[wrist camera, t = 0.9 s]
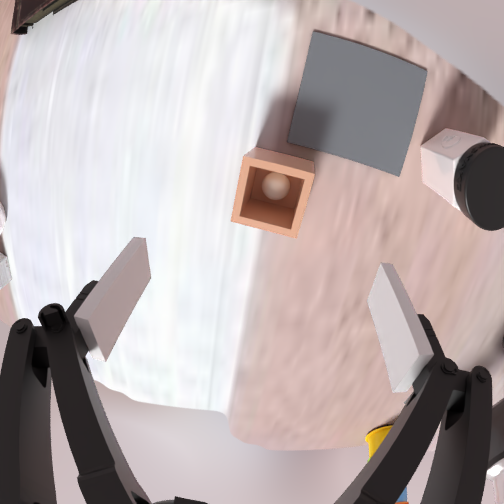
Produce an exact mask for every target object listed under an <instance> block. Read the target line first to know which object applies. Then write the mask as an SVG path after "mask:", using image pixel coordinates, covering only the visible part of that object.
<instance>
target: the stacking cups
mask: <svg viewBox="0 0 504 504" xmlns="http://www.w3.org/2000/svg"><path fill="white" fill-rule="evenodd" d="M392 426H393V425H391V426H385V427H381V428H378V429H376V430H373V431H372V432H370V433H369V434H368V435H367V436H366V441H367V442H368V443H369V457H370V458H369V460H370V459H371V457H372V456H373V454H374V453H375V452H376V450H377V449H378V447H379V446H380V444H381V443H382V441H383V440H384V438H385V437H386V435H387V434H388V432H389V431H390V429H391V428H392ZM369 460H368V461H369ZM395 504H409V503H408V502H407V488H405V489H404V491H403V492H402V494H401V495H400V497H399V498H398V500H397V501H396V503H395Z"/></svg>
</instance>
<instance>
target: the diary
mask: <svg viewBox="0 0 504 504" xmlns="http://www.w3.org/2000/svg"><path fill="white" fill-rule="evenodd" d="M76 1H78V0H15V7H14V13H13V20H12V27H11V34H15V35H22V34H27V28H28V26H32V25H33V23H37V22H38V21H39V20H41V19H42V18H44V17H45V16H47V15H48V14H50V13H51V12H53V15H54V14H55V13H57V12H59V11H60V10H62V9H64V8H65V7H67V6H69V5H70V4H72V3H74V2H76ZM32 29H33V27H32Z"/></svg>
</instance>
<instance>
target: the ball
mask: <svg viewBox="0 0 504 504" xmlns="http://www.w3.org/2000/svg"><path fill="white" fill-rule="evenodd" d="M262 190H263V193H264V194H265V195H266V196H267V197H268V198H270V199H272V200H280V199H282V198H284V197H285V196H286V195H287V194H288V193H289V190H290V182H289V180H288V178H287V177H286V176H285V175H284V174H282V173H278V172H272V173H270V174H268V175H267V176H265V178H264V179H263V182H262Z"/></svg>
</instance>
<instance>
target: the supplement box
mask: <svg viewBox="0 0 504 504" xmlns="http://www.w3.org/2000/svg"><path fill="white" fill-rule="evenodd" d="M11 280H12V277H11V272H10V267H9V262H8V258H7V256H5V255H4V254H2V253H1V252H0V290H1V289H2V288H3V287H4V286H5V285H6V284H7V283H9V282H10V281H11Z"/></svg>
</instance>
